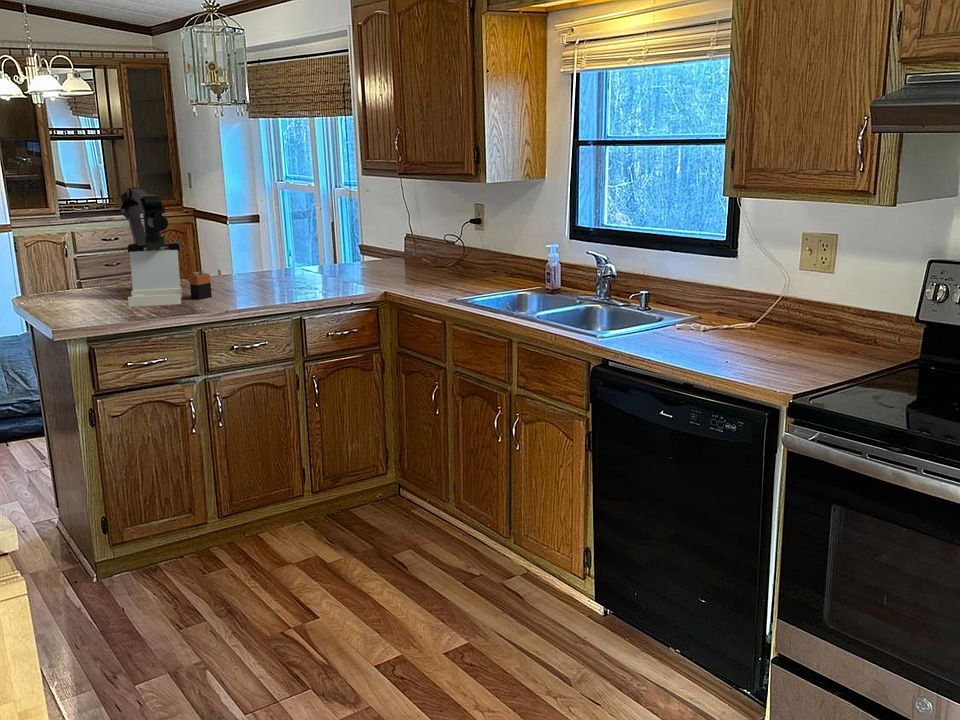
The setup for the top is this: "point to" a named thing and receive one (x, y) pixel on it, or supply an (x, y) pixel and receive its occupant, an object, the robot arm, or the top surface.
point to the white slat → (155, 297)
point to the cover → (155, 270)
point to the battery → (200, 285)
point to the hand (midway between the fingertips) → (156, 269)
